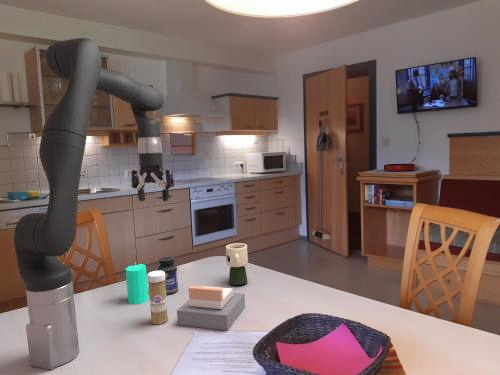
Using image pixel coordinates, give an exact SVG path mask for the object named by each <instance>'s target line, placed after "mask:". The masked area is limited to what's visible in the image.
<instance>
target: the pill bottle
mask: <svg viewBox="0 0 500 375" xmlns="http://www.w3.org/2000/svg"><path fill="white" fill-rule="evenodd" d="M158 263H159V266H158V267H157V271H164V272H165V289H166V296H169V295H174V294H177V292H178V291H179V280H178V267H177V265H176V264H175V258H174V257H173V256H162V257H160V258H159V260H158Z"/></svg>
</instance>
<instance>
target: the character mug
mask: <svg viewBox="0 0 500 375" xmlns="http://www.w3.org/2000/svg"><path fill="white" fill-rule="evenodd" d="M248 256H249V255H248V244H246V243H241V242H237V243H236V242H235V243H231V244H230V243H229V244H227V245H226V246H225V260H226V265H227V266H229V267H230V268H229V274H228V275H229V276H228V284H229V285H231V286H240V285H243V284H247V283H248V277H247V276H248V275H247V270H246V266H247V265H248V264H249V257H248Z"/></svg>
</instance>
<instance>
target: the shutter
mask: <svg viewBox="0 0 500 375" xmlns="http://www.w3.org/2000/svg"><path fill="white" fill-rule="evenodd" d="M233 293H234V288H232V287H231V288H229V287H218V286H217V287H216V286H205V285H203V286H196V285H190V286H189V287H188V297H189V298H188V300H189V302H190V306H194V307H204V308H214V309H222V308H223V307H224V305H225V304H226V303H227V302H228V301H229V300H230V299H231V297H232V296H233Z"/></svg>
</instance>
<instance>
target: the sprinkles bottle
mask: <svg viewBox="0 0 500 375" xmlns="http://www.w3.org/2000/svg"><path fill="white" fill-rule="evenodd" d="M147 284H148V298H149V308H150V309H149V310H150V318H151V319H150V322H151V323H152V325H163V324H164V323H166V322H168V319H169V317H168V304H167V295H166V289H165V272H164V271H158V270H154V271H150V272H148V274H147Z"/></svg>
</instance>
